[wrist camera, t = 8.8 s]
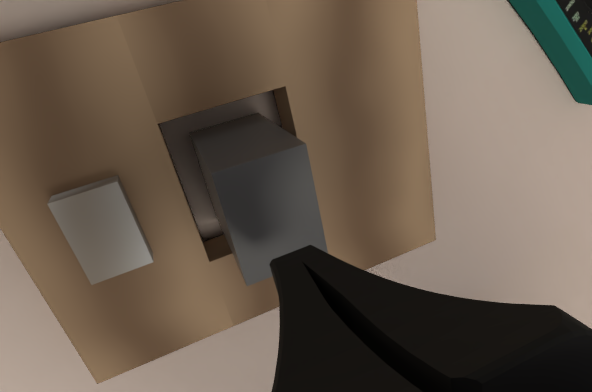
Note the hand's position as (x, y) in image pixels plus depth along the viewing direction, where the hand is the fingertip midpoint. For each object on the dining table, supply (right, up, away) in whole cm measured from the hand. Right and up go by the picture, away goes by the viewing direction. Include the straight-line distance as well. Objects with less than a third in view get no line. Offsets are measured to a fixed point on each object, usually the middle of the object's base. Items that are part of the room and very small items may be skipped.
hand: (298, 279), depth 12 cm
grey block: (-3, +4, +7) cm, 9 cm away
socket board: (-3, +4, +7) cm, 8 cm away
